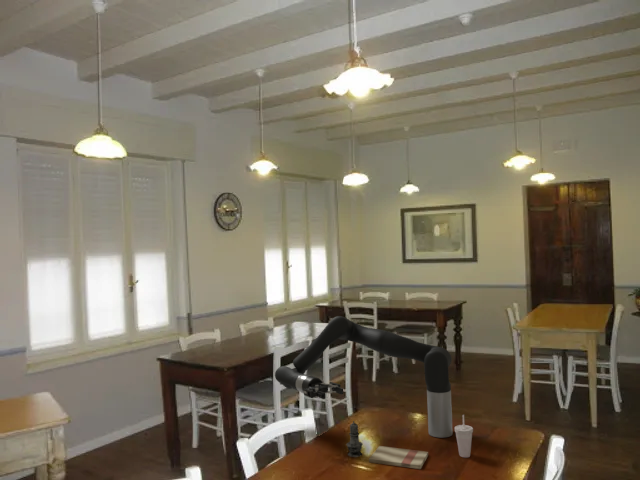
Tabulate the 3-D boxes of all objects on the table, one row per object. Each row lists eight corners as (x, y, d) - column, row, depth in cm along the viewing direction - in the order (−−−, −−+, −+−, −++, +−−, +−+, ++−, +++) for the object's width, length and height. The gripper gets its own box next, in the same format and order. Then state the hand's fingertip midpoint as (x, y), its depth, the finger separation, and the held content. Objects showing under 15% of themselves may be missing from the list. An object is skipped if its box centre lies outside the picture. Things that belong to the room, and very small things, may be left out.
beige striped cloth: (379, 449, 198) (379, 445, 198) (428, 455, 191) (428, 451, 191) (369, 462, 187) (368, 458, 187) (420, 469, 180) (420, 465, 180)
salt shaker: (362, 457, 191) (360, 424, 191) (345, 457, 193) (344, 423, 192) (364, 451, 197) (362, 418, 197) (348, 450, 198) (346, 418, 198)
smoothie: (474, 452, 192) (473, 413, 192) (473, 459, 186) (472, 419, 186) (456, 450, 194) (454, 412, 194) (454, 458, 188) (453, 417, 188)
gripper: (293, 379, 212) (318, 387, 199) (322, 372, 221) (348, 380, 208) (294, 398, 213) (318, 407, 199) (323, 391, 221) (348, 399, 208)
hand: (333, 393), depth 204 cm, fingers open, 8 cm apart
